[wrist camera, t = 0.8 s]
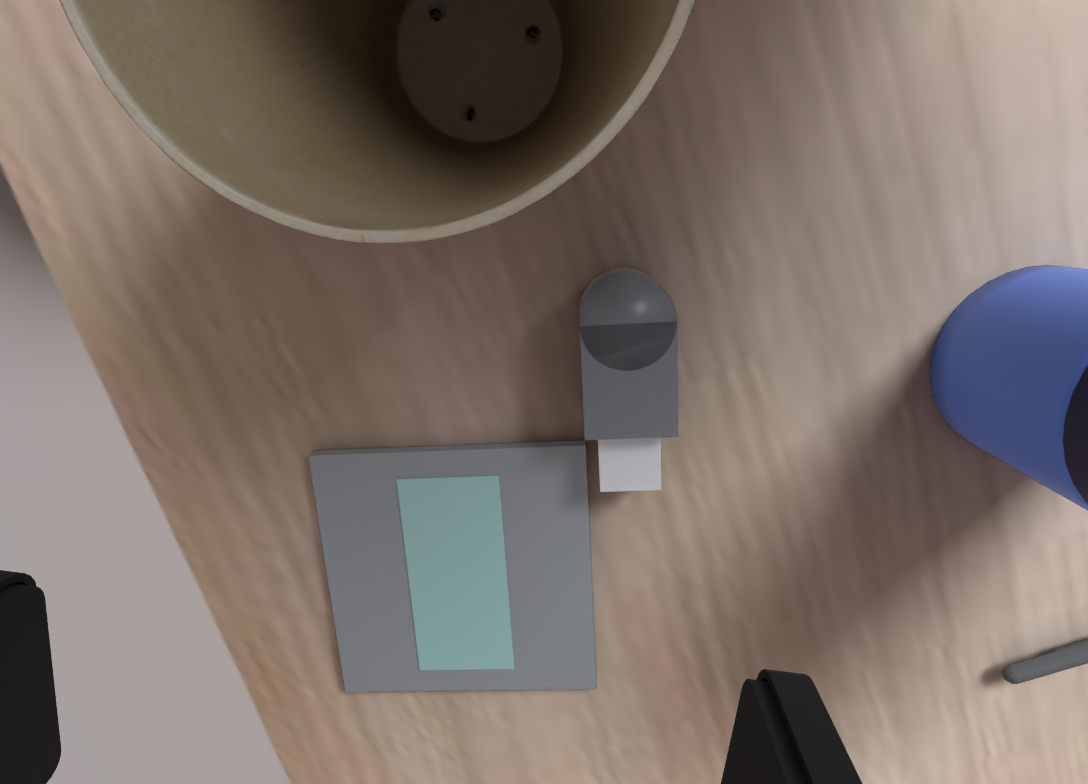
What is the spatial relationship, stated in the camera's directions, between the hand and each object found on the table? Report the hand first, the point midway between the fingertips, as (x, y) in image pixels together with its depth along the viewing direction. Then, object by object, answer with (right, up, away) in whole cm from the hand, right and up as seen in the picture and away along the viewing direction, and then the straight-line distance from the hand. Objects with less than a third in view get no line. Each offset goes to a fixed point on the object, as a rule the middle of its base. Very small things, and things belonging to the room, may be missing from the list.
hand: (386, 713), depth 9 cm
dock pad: (-2, -5, +27) cm, 28 cm away
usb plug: (+6, +6, +24) cm, 25 cm away
